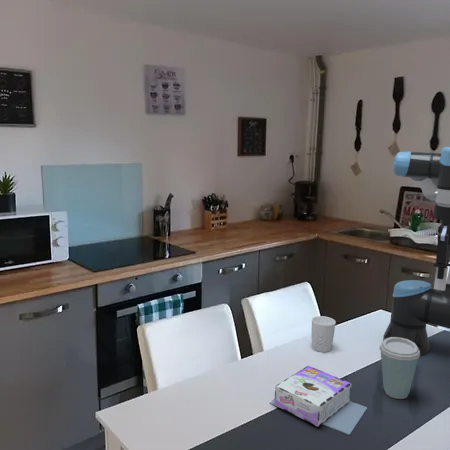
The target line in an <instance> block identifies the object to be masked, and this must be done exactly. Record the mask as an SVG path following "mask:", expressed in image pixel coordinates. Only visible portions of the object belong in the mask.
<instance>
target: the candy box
mask: <svg viewBox="0 0 450 450" xmlns="http://www.w3.org/2000/svg"><path fill="white" fill-rule="evenodd" d="M351 391H352V383H351V382H349V381H346V380H345V379H342V378H339V377H337V376H335V375H333V374H330V373H327V372H325V371H323V370H320V369H318V368H315V367H313V366H310V365H306V366H305V367H304V368H302V369H300V370H299V371H297V372H296V373H294V374H293V375H291V376H289V377H288V378H286V379H284V380H283V381H281V382H279V383H278V384H276V385H275V386H274V398H275V402H274V405H276V406H278V407H277V408H279V407H280V408H279V409H281V408H282V410H283V411H286V412H288V413H290V414H292V415H293V416H296V417H297V418H300V419H302V420H304V421H306V422H308V423H310V424H312V425H314V426H316V427H320V426H322V423H323V422H325V421H326V420H327V419H328V418H330V417H331V416H332V415H333V414H335V413H336V412H337V411H339V410H340V409H341V408H342V407H344V406H345V405H346V404H347V403H349V401H351ZM274 405H273V406H274ZM276 406H275V407H276Z"/></svg>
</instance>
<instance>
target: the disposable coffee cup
mask: <svg viewBox="0 0 450 450" xmlns="http://www.w3.org/2000/svg"><path fill="white" fill-rule="evenodd" d="M379 350H380V361H381V374H382V383H383V390H384V393H385V394H386V395H387V396H389V397H390V398H393V399H398V400H404V399H407V398H408V396H409V395H410V391H411V388H412V383H413V381H414V380H413V379H414V376H415V373H416V369H417V364H418V361H419V358H420V356H421V355H420V351H419V349H418V347H417V345H416V344H415V343H414V342H412V341H410V340H408V339H405V338H399V337H390V338H387V339H384V341H383V340H382V343H381V344H380V345H379Z"/></svg>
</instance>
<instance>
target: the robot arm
mask: <svg viewBox="0 0 450 450" xmlns="http://www.w3.org/2000/svg"><path fill="white" fill-rule="evenodd" d="M393 161H394V162H393V172H394V175H395V176H397V177H402V178H409V179H410V180H411V181H413V183H415V184H416V185H417V186H418V188H420V189H421V191H422V194H423V196H424V197H425V198H426V199H427V200H428V201H430V202H431V203H434V208H433V218H434V219H435V220H438V221H441V224H440V225H439V226H438V228H437V234H436V235H437V244H436V257H435V263H433V267H435V275H434V284H433V288H432V284H431V283H430V282H427V281H425V280H419V279H418V280H417V279H416V280H415V279H409V280H407V279H406V280H402V281H399V282H397V283H395V285H394V287H393V293H392V302H391V310H390V311H391V313H390V321H389V324H388V326H387V327H386V330H385V332H384V334H383V337H382V342H383V341H384V339H387V338H390V337H399V338H405V339H408V340H410V341H412V342H414V343H415V344H416V345H417V347H418V349H419V351H420V356H423V355H425V354H427V353H429V352H430V351H429V350H430V340H429V336H428V331H427V324H430V325H433V326H437V327H440V328H441V327H442V328H446V329H450V146H445V147H443V148H442V150H441V152H440V153H439V152H422V151H421V152H420V151H410V150H408V151H399V152H397V154H396V155H395V157H394V160H393Z"/></svg>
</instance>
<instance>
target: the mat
mask: <svg viewBox="0 0 450 450" xmlns="http://www.w3.org/2000/svg"><path fill="white" fill-rule="evenodd" d="M274 402H275V397H274V398H272V400H271V401H270V402H269V404H270V405H272V406H274V407H276V408H279V409H282V408H280V407H278V406H276V405H274ZM282 410H283V409H282ZM367 410H368V407H367V406H364V405H362V404H359V403H357V402H353V401H351V400H350V401H349V403H347V404H346V405H345V406H344V407H342V408H341V409H340V410H339V411H337V412H336V413H335V414H333V415H332V416H331V417H330V418H328V419H327V420H326V421H325V422H323V423H322V424H321V426H324V427H325V426H326V427H327V428H329V429H332V430H334V431H337V432H339V433H343V434H345V435H346V436H350V435H351V434H352V433H353V431H354V429H355V428H356V426H357V424H359V422H360V420H361V419H362V418H363V415H364V414H365V413H366V411H367Z"/></svg>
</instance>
